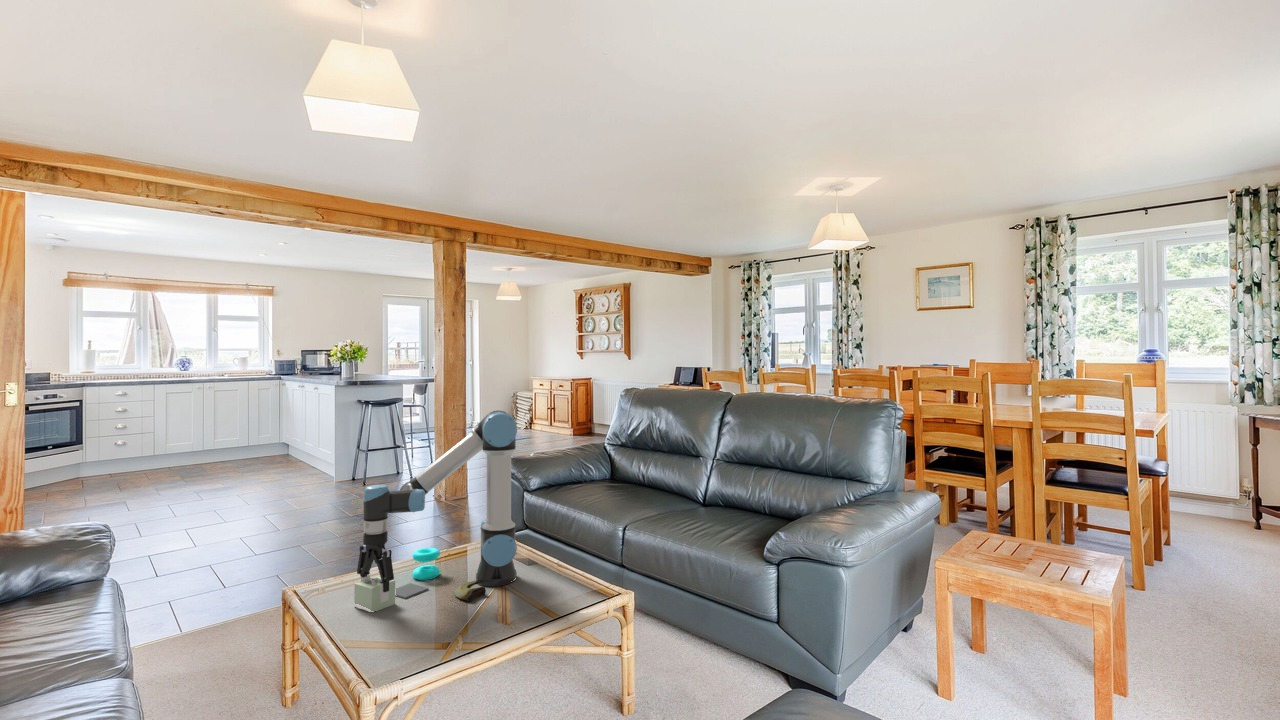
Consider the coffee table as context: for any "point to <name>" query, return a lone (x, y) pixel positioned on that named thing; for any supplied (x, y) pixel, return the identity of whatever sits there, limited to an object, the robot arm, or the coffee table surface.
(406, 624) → the coffee table surface
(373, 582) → the post stand
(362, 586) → the sage cube with slot
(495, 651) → the coffee table surface
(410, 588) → the mat
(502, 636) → the coffee table surface
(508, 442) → the robot arm
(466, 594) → the claw
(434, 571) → the donuts
